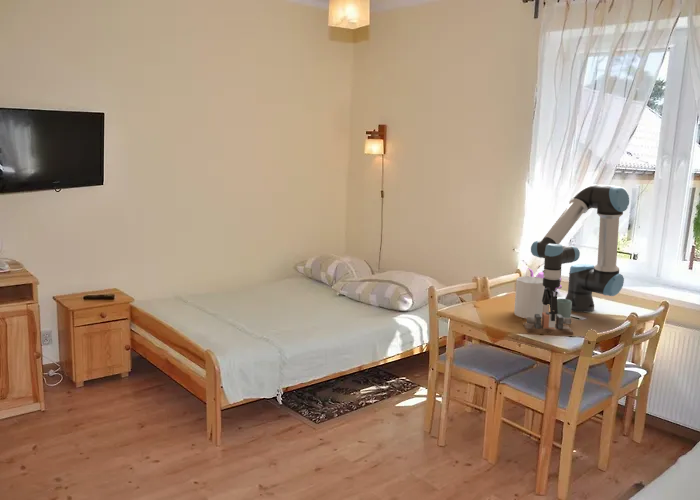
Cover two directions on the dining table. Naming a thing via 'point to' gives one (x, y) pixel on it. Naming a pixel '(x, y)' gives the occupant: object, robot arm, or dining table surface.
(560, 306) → the cup
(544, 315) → the joint block
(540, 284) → the container
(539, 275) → the teapot
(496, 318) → the dining table surface
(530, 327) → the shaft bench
